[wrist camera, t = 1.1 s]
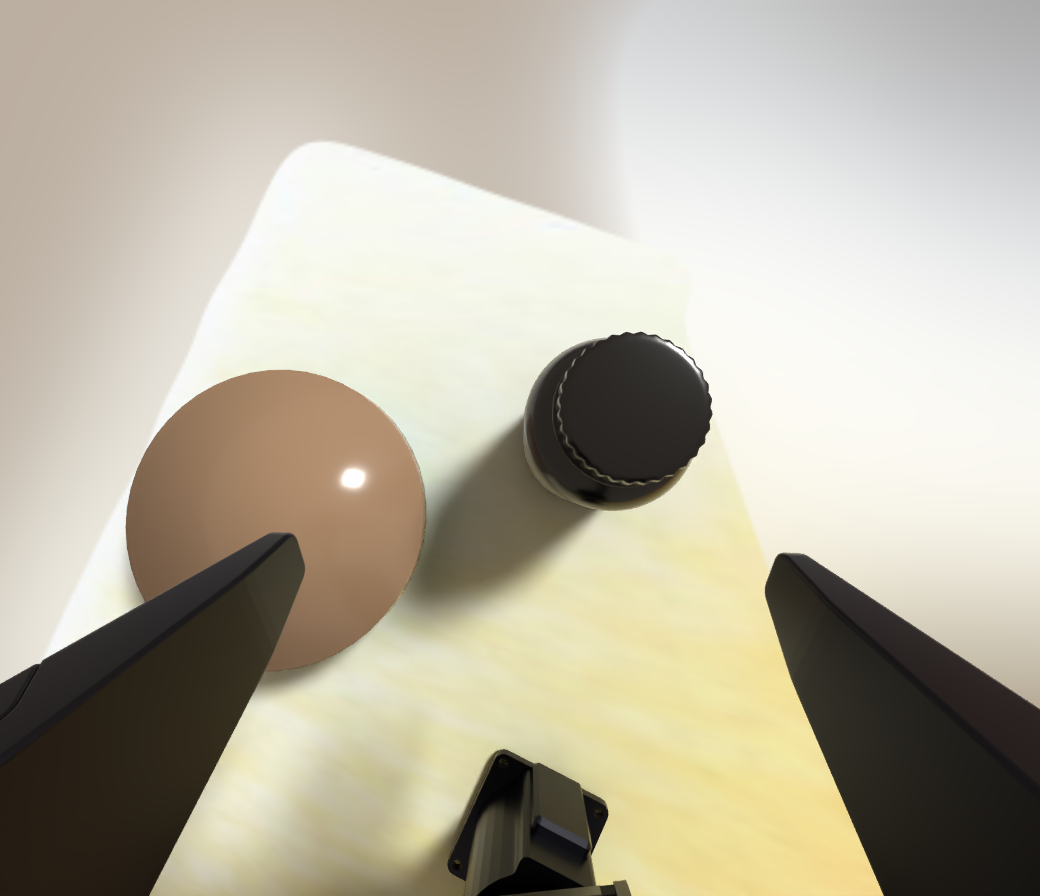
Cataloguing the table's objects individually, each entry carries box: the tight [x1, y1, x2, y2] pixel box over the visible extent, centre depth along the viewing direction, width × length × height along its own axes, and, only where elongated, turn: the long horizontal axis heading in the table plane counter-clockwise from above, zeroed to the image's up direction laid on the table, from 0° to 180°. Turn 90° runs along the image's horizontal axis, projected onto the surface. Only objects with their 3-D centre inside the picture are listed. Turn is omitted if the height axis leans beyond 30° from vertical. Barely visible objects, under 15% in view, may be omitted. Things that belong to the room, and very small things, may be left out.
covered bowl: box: [126, 370, 426, 671], centre depth 23 cm, size 14×14×4 cm
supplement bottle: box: [523, 332, 712, 511], centre depth 20 cm, size 7×7×12 cm
